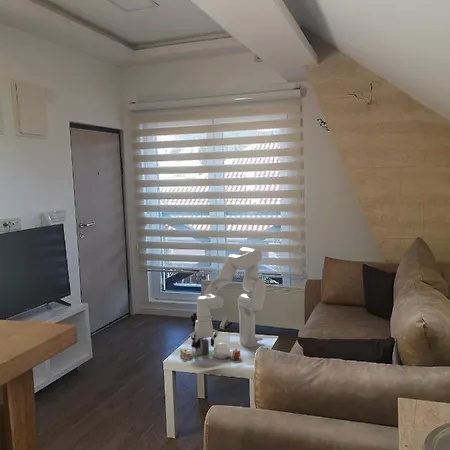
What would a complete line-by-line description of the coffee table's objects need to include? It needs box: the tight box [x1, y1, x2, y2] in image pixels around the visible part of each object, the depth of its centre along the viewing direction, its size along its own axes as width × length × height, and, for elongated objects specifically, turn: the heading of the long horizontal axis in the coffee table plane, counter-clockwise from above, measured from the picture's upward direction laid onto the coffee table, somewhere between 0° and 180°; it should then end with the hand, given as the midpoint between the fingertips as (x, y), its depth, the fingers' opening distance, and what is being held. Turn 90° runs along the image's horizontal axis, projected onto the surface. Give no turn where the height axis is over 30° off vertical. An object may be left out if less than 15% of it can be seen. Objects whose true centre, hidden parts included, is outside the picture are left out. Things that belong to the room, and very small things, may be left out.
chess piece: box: [190, 312, 204, 348], centre depth 288 cm, size 8×8×20 cm
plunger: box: [191, 338, 210, 356], centre depth 272 cm, size 8×5×8 cm, turn 110°
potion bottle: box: [213, 342, 241, 361], centre depth 267 cm, size 9×10×15 cm
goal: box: [179, 347, 194, 361], centre depth 269 cm, size 5×8×4 cm, turn 20°
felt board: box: [179, 349, 215, 361], centre depth 272 cm, size 24×8×1 cm, turn 110°
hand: (204, 347), depth 272 cm, fingers open, 9 cm apart
